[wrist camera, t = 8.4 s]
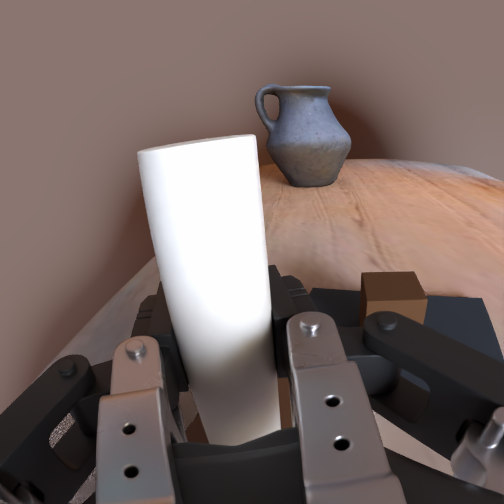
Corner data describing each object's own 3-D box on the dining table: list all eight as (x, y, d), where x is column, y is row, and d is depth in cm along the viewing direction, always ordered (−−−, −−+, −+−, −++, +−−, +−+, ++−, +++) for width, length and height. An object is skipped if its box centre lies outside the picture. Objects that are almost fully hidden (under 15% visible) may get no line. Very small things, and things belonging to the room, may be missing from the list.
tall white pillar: (277, 566, 8) (204, 153, 3) (161, 523, 10) (-17, 195, 5) (331, 425, 15) (337, 127, 10) (237, 406, 17) (194, 138, 12)
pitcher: (364, 189, 67) (357, 75, 58) (265, 196, 68) (253, 79, 59) (340, 174, 86) (333, 85, 77) (262, 180, 87) (252, 90, 78)
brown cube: (362, 352, 20) (366, 301, 19) (358, 318, 24) (361, 272, 22) (418, 349, 19) (428, 299, 18) (407, 317, 23) (414, 270, 21)
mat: (268, 384, 19) (268, 378, 19) (312, 293, 29) (312, 287, 29) (510, 402, 13) (514, 395, 13) (480, 303, 23) (482, 297, 23)
